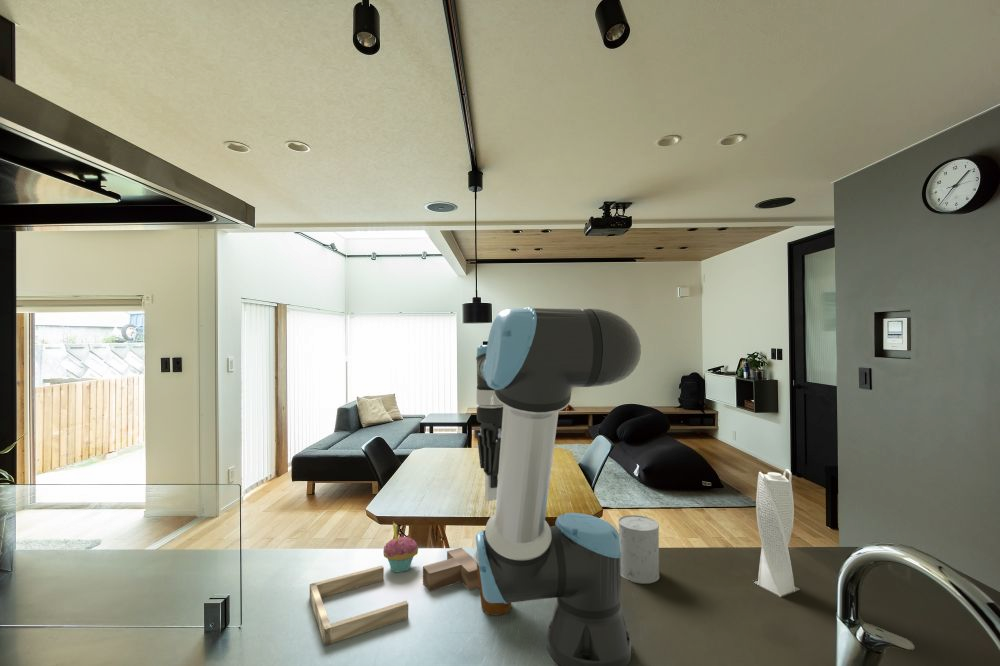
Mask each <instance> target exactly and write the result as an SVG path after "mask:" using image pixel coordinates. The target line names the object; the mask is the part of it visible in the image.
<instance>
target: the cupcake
mask: <svg viewBox="0 0 1000 666" xmlns="http://www.w3.org/2000/svg"><path fill="white" fill-rule="evenodd" d="M392 527H393V534H394V535H393V536H394V538H392V539H390V540H388V542H387V543H386V544H385V545H384V547H383V557H384V558H386V559H387V562H388V563H389V564H388V565H389V566H390V570H391V571H393V572H395V573H404V572H406V571H408V570H409V569H410V568H411V566H412V561H413V559H414V557H415V556H417V555H418V553H419V546H418V543H417V541H415V539H413V538H411V537H409V536H398V532H397V526H396V523H395V521H394V520H393V521H392Z"/></svg>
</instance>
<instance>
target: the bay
mask: <svg viewBox="0 0 1000 666" xmlns="http://www.w3.org/2000/svg"><path fill="white" fill-rule="evenodd" d="M384 568H385V567H384V566H383V565H378V566H374V567H371V568H367V569H363V570H359V571H355V572H352V573H348V574H343V575H341V576H340V575H339V576H335V577H332V578H328V579H324V580H321V581H317V582H313V583H310V584H309V600H310V603H311V607H312V610H313V613H314V616H315V618H316V623H317V626H318V628H319V633H320V635H321V639H322V641H323V645H324V647H325V646H329V645H331V644H334V643H338V642H341V641H344V640H347V639H350V638H352V637H353V638H354V637H356V636H359V635H362V634H365V633H368V632H371V631H374V630H377V629H380V628H383V627H386V626H390V625H392V624H394V623H395V624H396V623H399V622H402V621H405V620H407V619H409V602H408V601H407V600H404V601H401V602H397V603H395V604H391V605H388V606H384V607H381V608H378V609H375V610H372V611H369V612H368V611H367V612H365V613H361V614H358V615H355V616H353V617H349V618H345V619H341V620H339V621H336V622H332V623H331V622H330V619H329V617H328V614H327V611H326V608H325V606H324V603H323V599H322V598H324V597H329V596H332V595H336V594H339V593H343V592H347V591H350V590H353V589H357V588H361V587H364V586H368V585H372V584H376V583H379V582H383V581H384V579H385V578H384V577H385V575H384V574H385V573H384V572H385V569H384Z"/></svg>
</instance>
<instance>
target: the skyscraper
mask: <svg viewBox="0 0 1000 666" xmlns="http://www.w3.org/2000/svg"><path fill="white" fill-rule="evenodd" d="M787 472H788V478H787V477H786V476H787ZM792 475H793V473H792V472H791V470H790V469H789V468H785V469H784V470H783V474H781V473H779V472H775V471H772V472H771V471H769V472H767V474H765V473H762V471H759V472H758V476H757V485H756V496H755V497H756V499H755V511H756V513H755V514H756V521H757V522H756V523H757V528H758V533H759V539H760V543H761V547H760V548H761V550H760V558H759V567H758V575H757V576H758V577H757V579H758V581H755V582H754V583H755V584H754V583H753V584H754V585H756V584H757V585H756V586H758V585H759V586H758V587H760V588H762V589H764V590H766V591H768V592H770V593H771V594H774V595H776V596H777V597H780V598H782V597H785V596H787V595H790V594H793V593H796V592H797V591H800V590H801V588H800V587H799V588H798V587H797V586H795V581H794V580H795V579H794V574H793V568H792V567H793V566H792V562H791V557H790V552H789V547H788V546H789V543H790V540H791V537H792V533H793V527H794V519H795V517H794V516H795V507H794V504H795V503H794V502H795V501H794V493H793V492H794V491H793V486H792Z"/></svg>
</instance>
